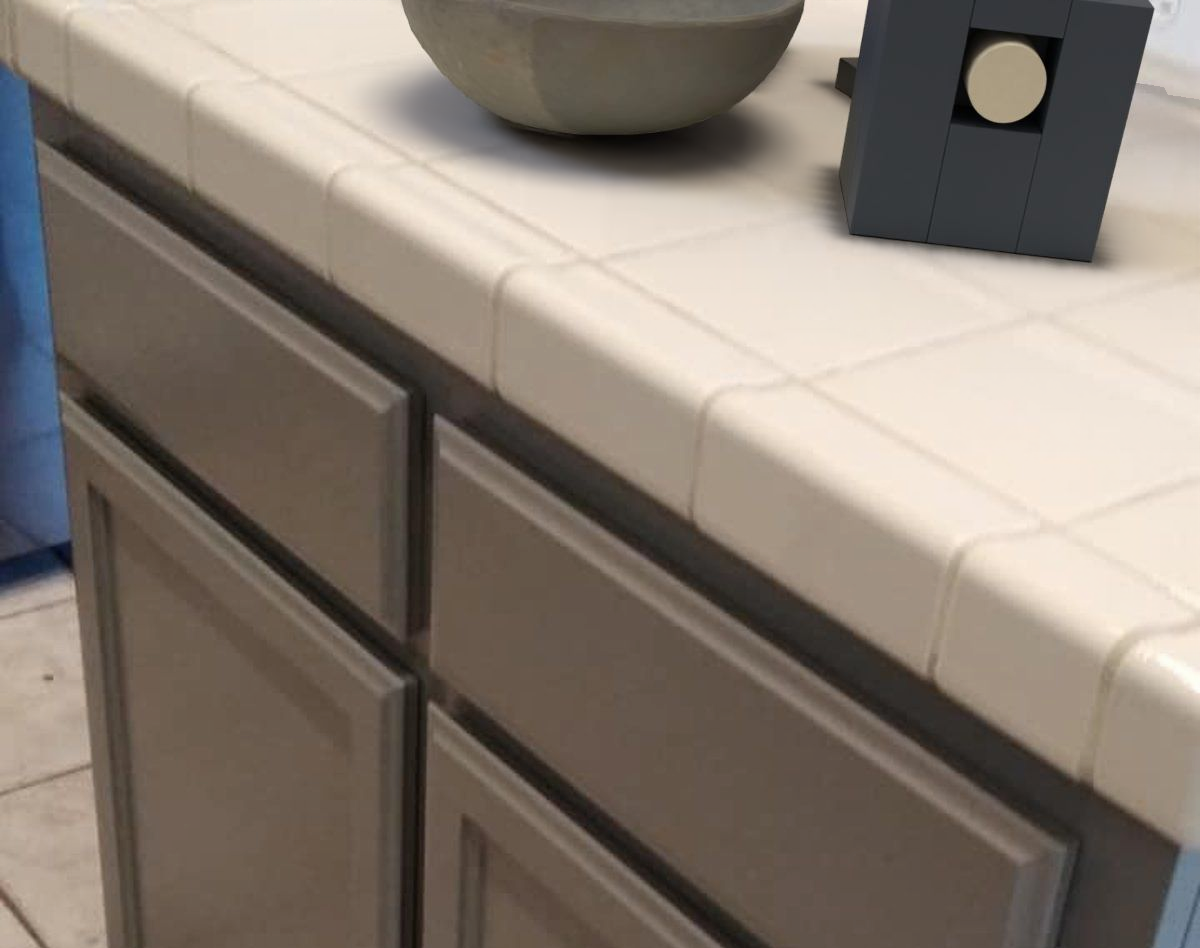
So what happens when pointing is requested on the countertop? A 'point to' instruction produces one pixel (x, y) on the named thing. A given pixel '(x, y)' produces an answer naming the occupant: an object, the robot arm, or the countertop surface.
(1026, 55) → the power button
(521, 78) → the bowl
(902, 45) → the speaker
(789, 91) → the countertop surface
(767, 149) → the countertop surface
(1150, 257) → the countertop surface
